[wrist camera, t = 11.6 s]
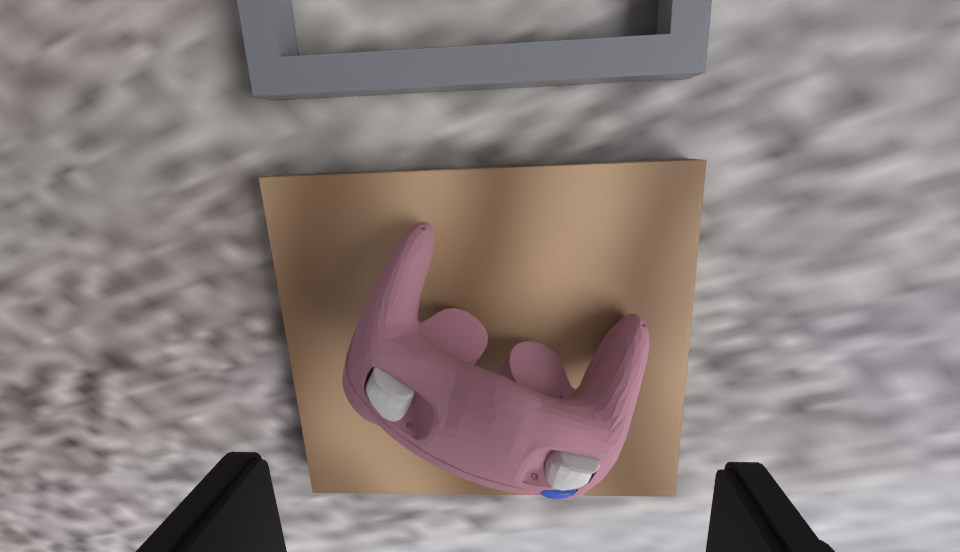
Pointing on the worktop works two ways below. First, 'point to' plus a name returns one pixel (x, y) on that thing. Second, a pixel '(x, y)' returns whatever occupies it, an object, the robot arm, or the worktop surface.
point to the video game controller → (488, 389)
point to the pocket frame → (469, 58)
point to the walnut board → (491, 293)
